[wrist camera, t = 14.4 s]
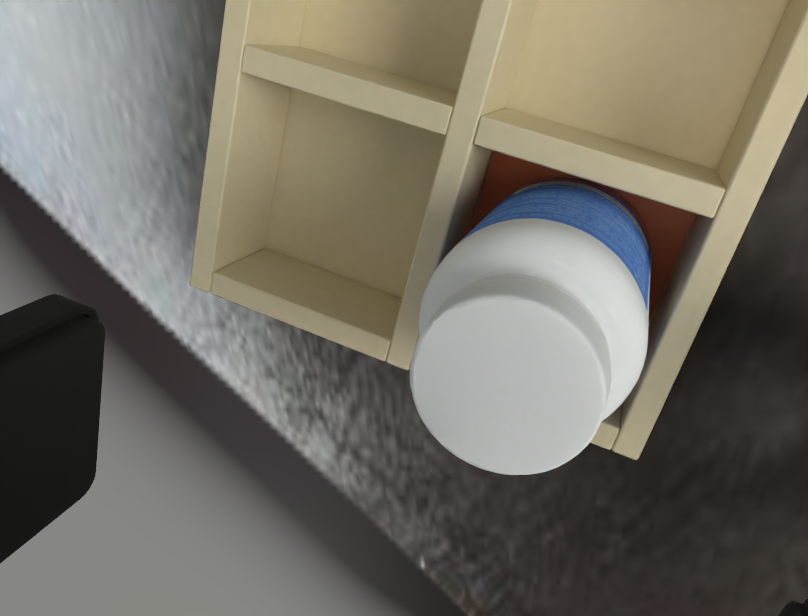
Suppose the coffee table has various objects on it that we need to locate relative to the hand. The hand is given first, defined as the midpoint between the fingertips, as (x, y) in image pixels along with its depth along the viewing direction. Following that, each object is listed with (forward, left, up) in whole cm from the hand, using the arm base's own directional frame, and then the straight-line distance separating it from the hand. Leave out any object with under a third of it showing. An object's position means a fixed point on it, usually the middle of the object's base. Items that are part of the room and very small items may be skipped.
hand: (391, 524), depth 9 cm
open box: (-3, +3, -16) cm, 17 cm away
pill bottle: (0, 0, -15) cm, 15 cm away
